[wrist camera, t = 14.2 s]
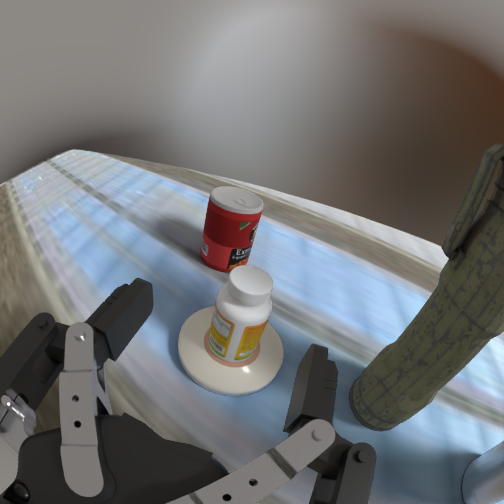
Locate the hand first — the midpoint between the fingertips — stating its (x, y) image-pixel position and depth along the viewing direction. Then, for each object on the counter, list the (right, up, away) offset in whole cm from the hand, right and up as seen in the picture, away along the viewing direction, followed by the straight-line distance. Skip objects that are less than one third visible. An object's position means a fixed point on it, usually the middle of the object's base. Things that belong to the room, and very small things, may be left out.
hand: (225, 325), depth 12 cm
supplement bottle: (-1, -7, +17) cm, 19 cm away
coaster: (-1, -8, +18) cm, 20 cm away
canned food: (-4, +2, +33) cm, 33 cm away
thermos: (+17, -15, +15) cm, 27 cm away
